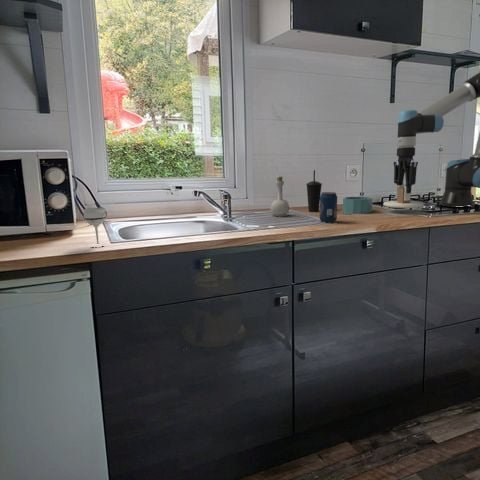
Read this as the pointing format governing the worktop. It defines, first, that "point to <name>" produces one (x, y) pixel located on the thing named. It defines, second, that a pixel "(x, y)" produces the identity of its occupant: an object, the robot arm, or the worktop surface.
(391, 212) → the mat
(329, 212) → the soda can
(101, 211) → the wineglass
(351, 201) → the bowl
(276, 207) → the potion bottle
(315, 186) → the drinking cup
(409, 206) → the lid
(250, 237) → the worktop surface
